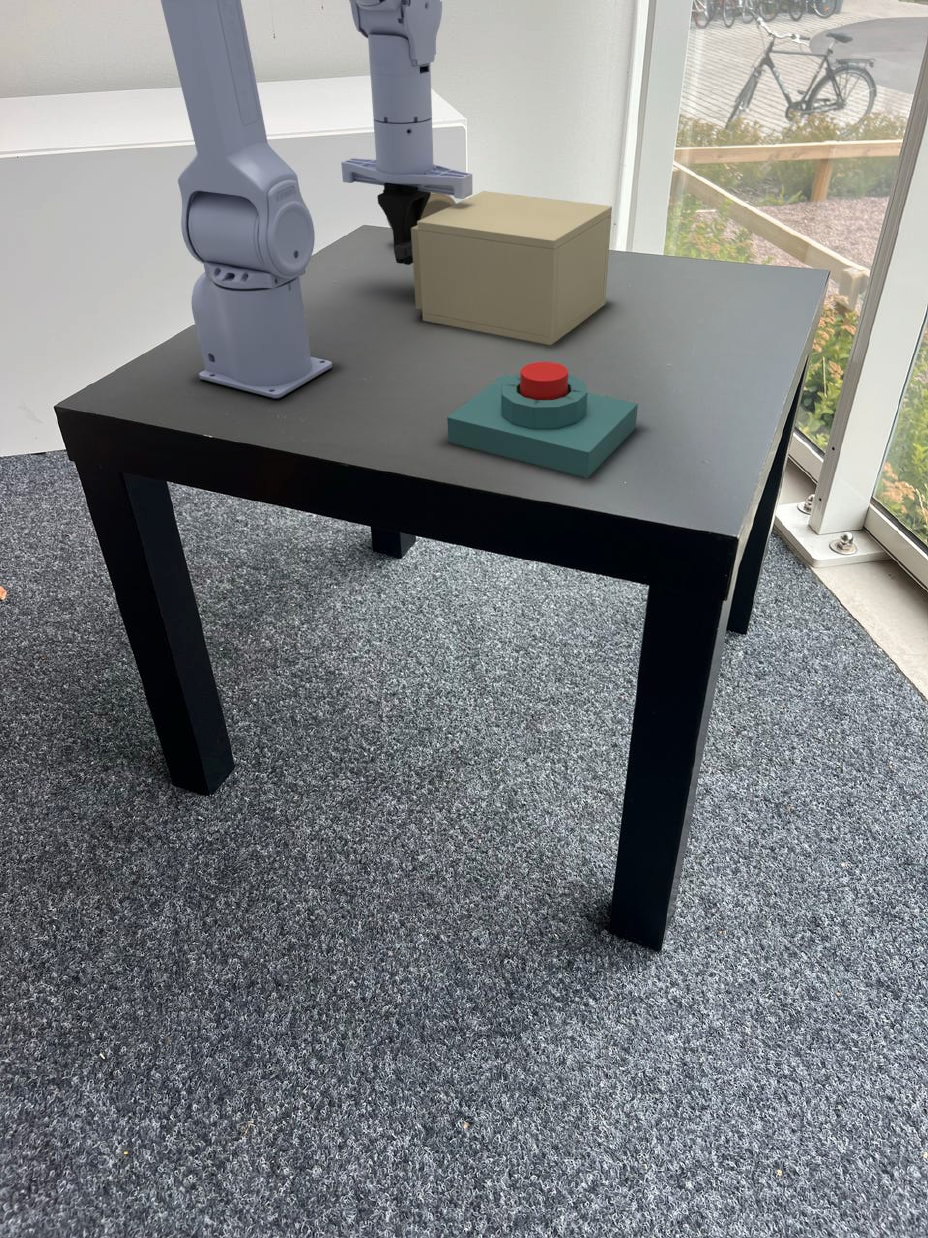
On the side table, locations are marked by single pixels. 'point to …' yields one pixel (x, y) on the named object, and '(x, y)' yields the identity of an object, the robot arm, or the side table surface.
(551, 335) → the tan drawer box
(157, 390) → the side table surface
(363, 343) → the side table surface
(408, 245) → the pulled-out drawer
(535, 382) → the button
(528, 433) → the panel
